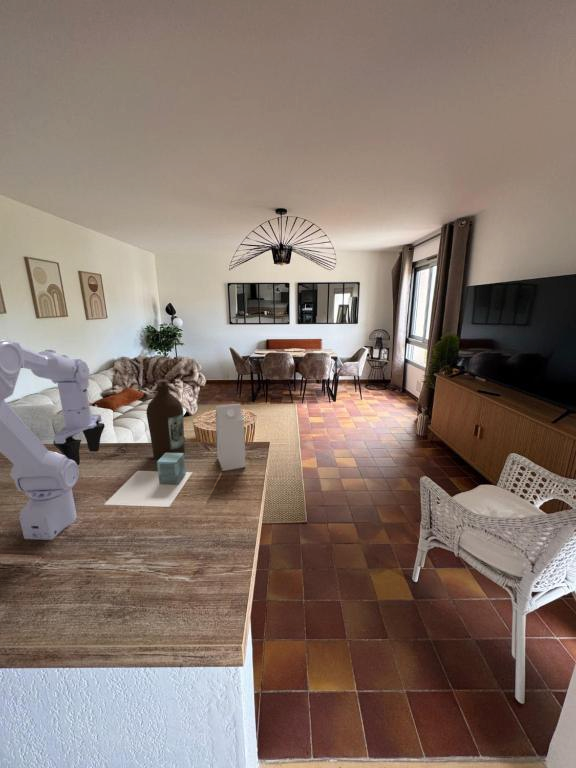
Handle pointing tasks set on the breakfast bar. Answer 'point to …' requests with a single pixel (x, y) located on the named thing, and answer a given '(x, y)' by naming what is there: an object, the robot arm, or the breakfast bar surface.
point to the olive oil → (165, 422)
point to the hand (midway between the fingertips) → (84, 457)
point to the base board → (146, 491)
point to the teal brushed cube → (171, 468)
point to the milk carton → (230, 436)
